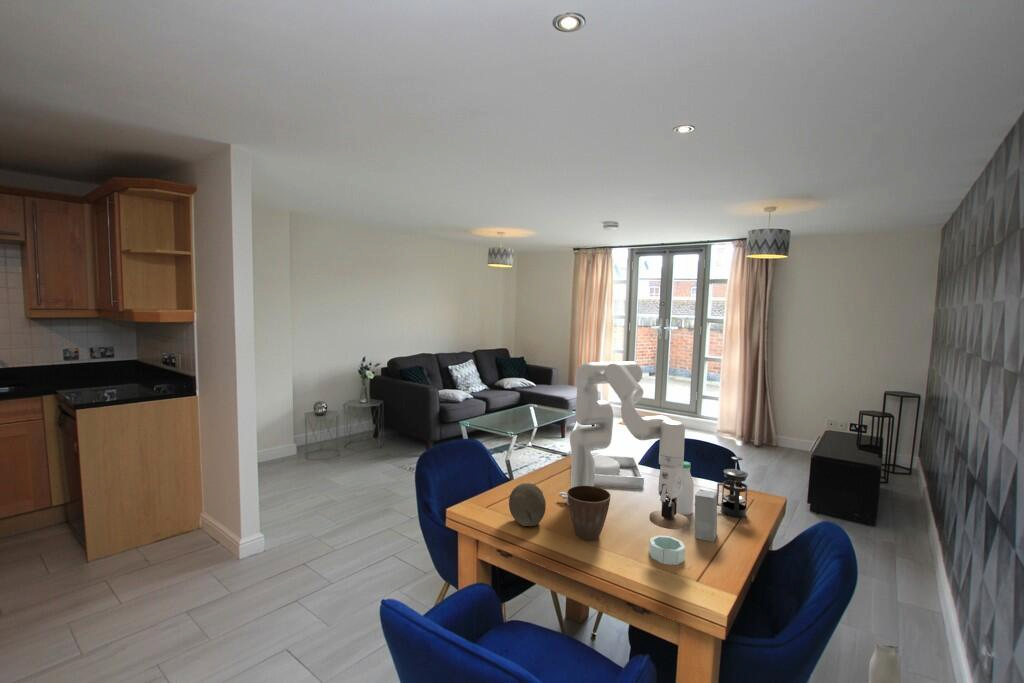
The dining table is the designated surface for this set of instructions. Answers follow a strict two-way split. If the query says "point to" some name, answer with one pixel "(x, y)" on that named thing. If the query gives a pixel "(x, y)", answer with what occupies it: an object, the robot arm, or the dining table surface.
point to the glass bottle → (884, 665)
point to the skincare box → (706, 515)
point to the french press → (733, 493)
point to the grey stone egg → (527, 504)
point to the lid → (669, 520)
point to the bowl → (667, 550)
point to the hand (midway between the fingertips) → (668, 515)
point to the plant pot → (588, 510)
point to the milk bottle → (686, 492)
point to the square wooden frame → (621, 480)
